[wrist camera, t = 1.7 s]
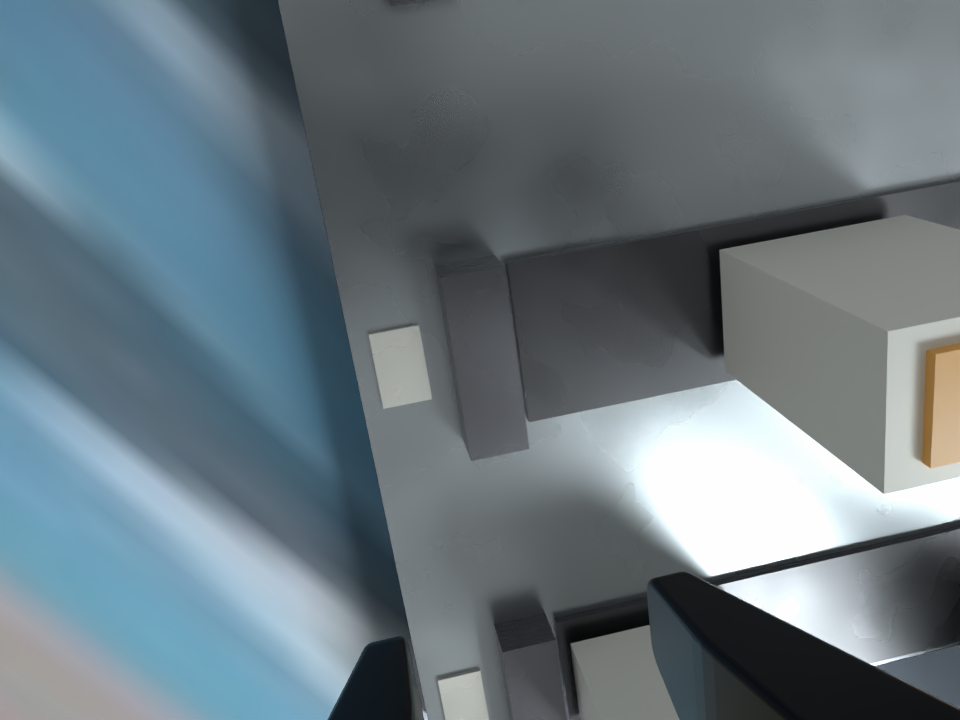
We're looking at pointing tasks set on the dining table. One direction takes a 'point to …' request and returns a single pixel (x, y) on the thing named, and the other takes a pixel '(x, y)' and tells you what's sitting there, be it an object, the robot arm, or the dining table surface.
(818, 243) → the breaker
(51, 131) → the dining table surface
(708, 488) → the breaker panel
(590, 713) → the block
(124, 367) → the dining table surface
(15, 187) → the dining table surface
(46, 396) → the dining table surface
